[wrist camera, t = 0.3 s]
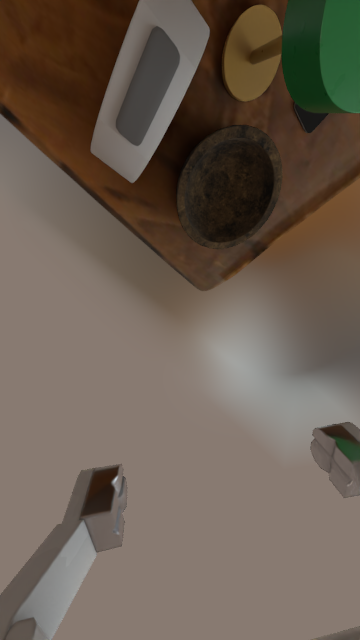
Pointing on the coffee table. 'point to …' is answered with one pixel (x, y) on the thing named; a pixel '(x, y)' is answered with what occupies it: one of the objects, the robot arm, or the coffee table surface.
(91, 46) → the coffee table surface
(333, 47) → the desk lamp
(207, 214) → the bowl
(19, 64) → the coffee table surface
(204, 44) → the alarm clock
